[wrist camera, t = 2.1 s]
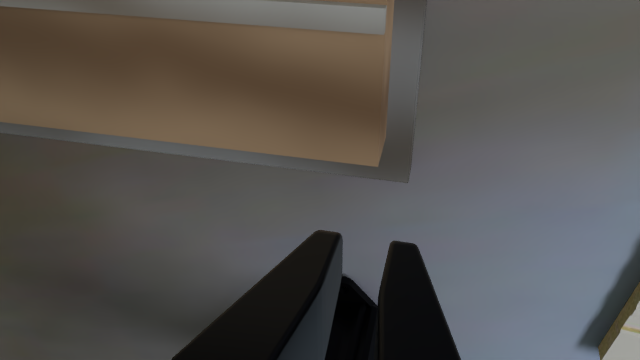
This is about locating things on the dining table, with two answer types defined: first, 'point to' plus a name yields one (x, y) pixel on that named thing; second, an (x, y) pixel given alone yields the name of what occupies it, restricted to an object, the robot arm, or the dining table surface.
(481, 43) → the dining table surface
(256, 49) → the floor base
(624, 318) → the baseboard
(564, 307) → the dining table surface
